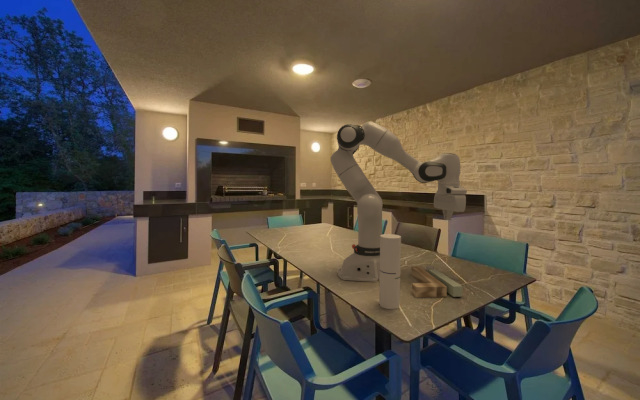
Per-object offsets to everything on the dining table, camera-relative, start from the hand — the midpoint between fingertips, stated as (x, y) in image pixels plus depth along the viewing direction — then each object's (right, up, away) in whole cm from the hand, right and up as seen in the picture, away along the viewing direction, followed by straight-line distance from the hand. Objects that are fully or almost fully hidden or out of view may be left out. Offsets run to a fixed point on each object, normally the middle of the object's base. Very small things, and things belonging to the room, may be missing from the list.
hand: (447, 219), depth 115 cm
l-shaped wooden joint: (-15, -28, -6) cm, 32 cm away
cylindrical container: (-33, -29, -24) cm, 50 cm away
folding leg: (-6, -27, -7) cm, 29 cm away
